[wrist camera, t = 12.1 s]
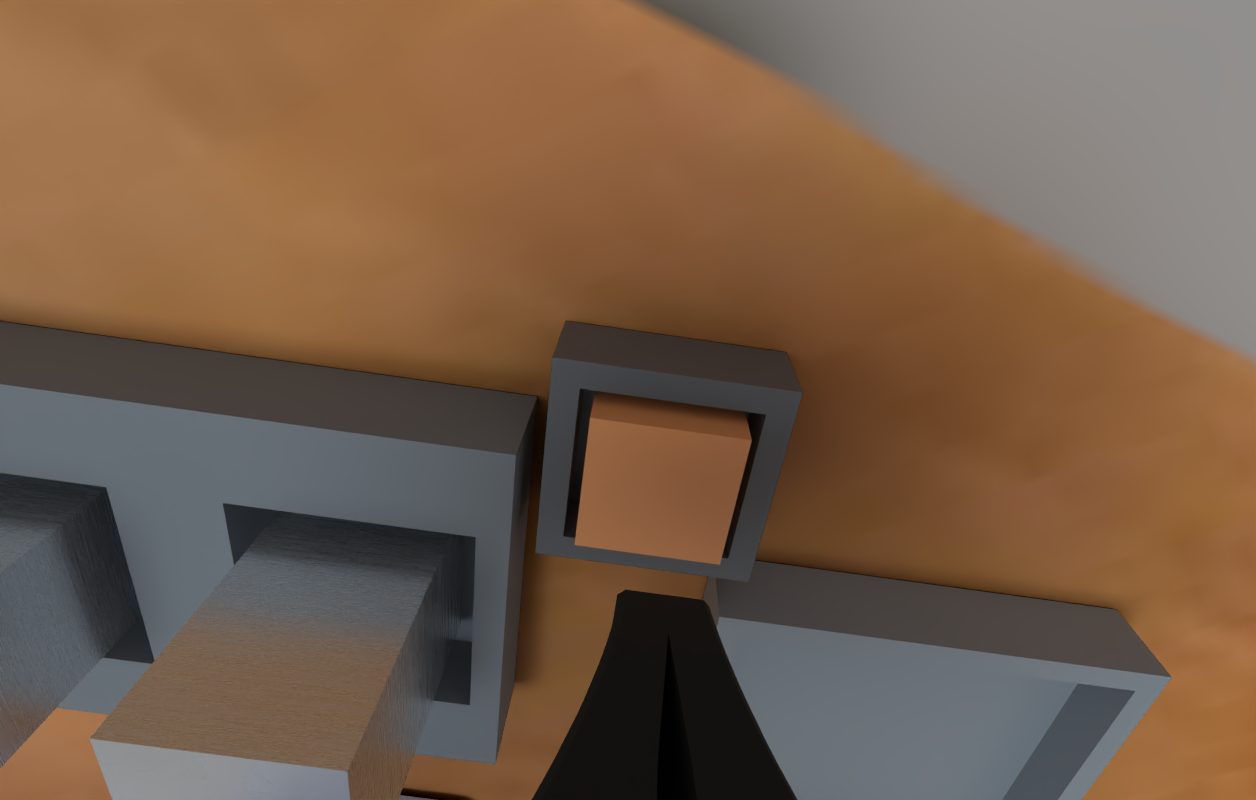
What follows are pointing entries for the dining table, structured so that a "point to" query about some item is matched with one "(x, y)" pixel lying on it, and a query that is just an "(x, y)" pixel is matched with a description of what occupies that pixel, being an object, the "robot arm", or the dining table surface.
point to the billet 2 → (296, 671)
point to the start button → (661, 477)
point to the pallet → (277, 486)
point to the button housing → (669, 375)
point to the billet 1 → (55, 596)
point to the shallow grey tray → (930, 685)
